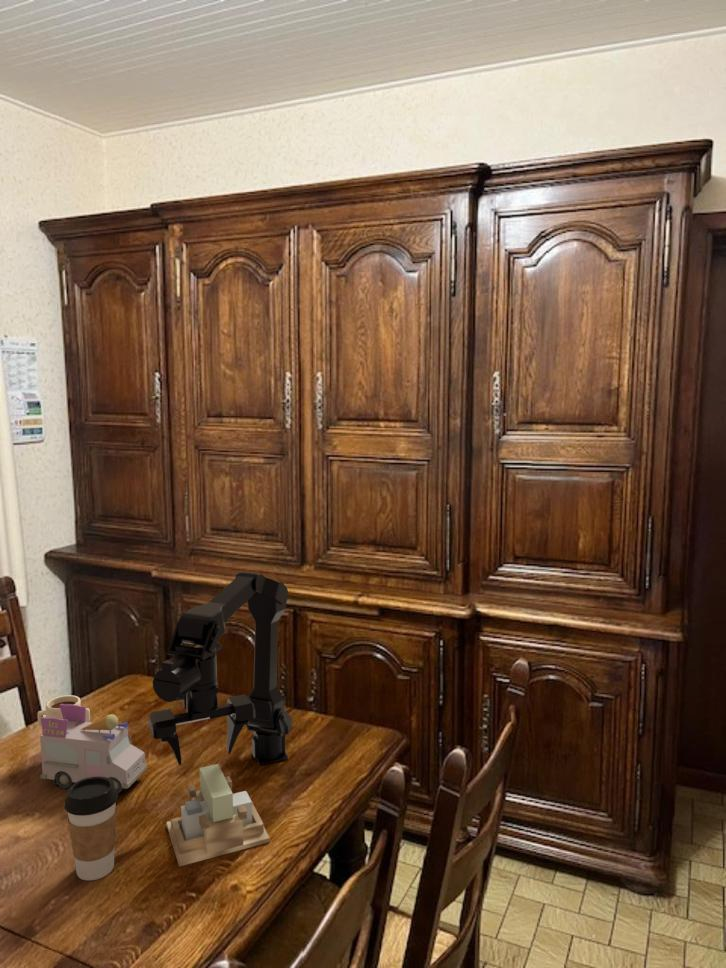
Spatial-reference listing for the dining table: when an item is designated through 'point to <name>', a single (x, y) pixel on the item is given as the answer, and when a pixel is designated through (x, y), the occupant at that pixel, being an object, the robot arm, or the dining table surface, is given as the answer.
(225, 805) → the pale green rectangular block
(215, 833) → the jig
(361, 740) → the dining table surface
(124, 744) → the toy vehicle
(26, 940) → the dining table surface
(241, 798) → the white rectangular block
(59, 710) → the character mug
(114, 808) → the coffee cup
